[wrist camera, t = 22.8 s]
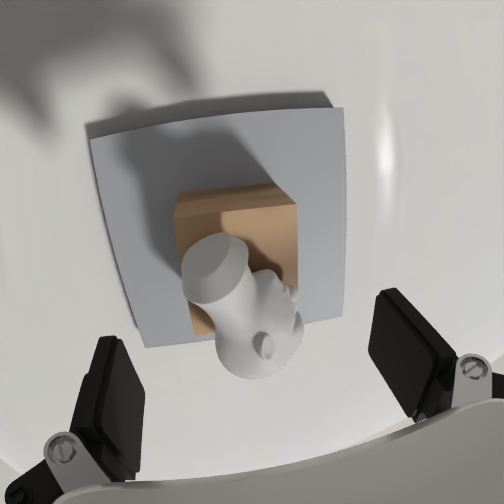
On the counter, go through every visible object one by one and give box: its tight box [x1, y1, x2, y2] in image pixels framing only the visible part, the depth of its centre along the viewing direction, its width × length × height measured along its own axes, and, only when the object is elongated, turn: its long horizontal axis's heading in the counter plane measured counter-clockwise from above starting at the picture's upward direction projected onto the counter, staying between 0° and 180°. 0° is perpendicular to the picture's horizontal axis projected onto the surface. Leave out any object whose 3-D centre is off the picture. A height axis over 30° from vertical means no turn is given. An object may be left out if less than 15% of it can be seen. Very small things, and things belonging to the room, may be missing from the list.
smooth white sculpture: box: [182, 232, 304, 379], centre depth 16 cm, size 4×8×5 cm
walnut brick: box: [173, 183, 298, 336], centre depth 19 cm, size 7×6×5 cm
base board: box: [90, 108, 346, 348], centre depth 22 cm, size 16×16×2 cm
